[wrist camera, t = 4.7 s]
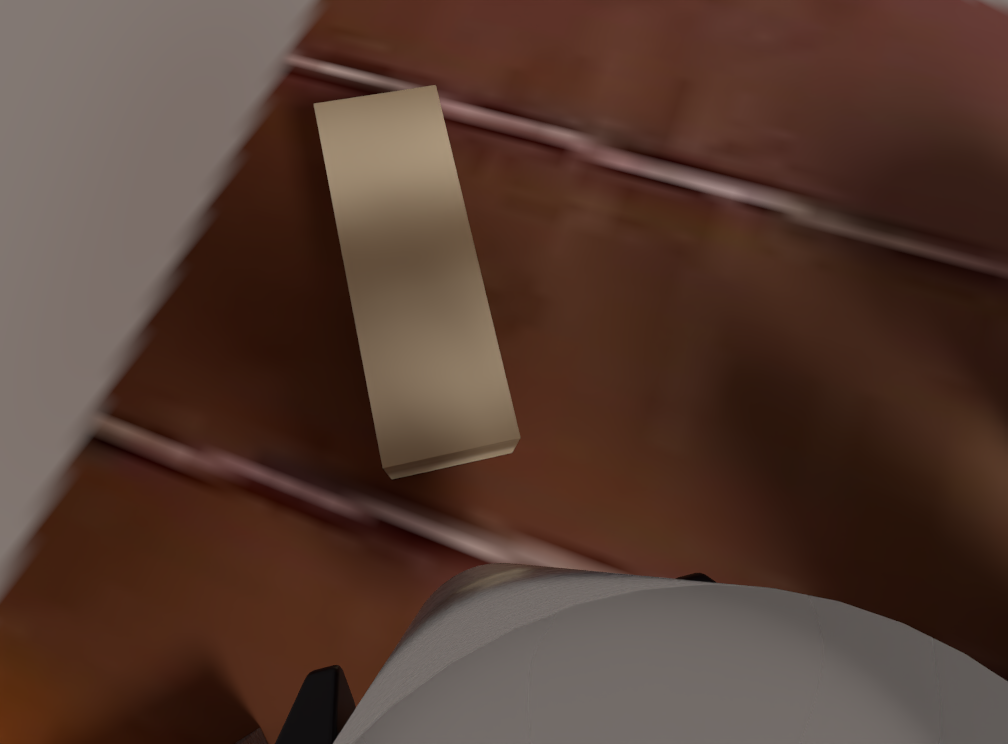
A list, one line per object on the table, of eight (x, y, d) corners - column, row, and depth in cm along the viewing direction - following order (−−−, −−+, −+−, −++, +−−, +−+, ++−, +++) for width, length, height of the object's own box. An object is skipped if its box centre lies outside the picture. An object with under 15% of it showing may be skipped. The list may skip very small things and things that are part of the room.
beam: (511, 452, 23) (520, 437, 20) (391, 479, 22) (382, 468, 19) (437, 138, 26) (435, 85, 23) (329, 155, 25) (313, 103, 22)
